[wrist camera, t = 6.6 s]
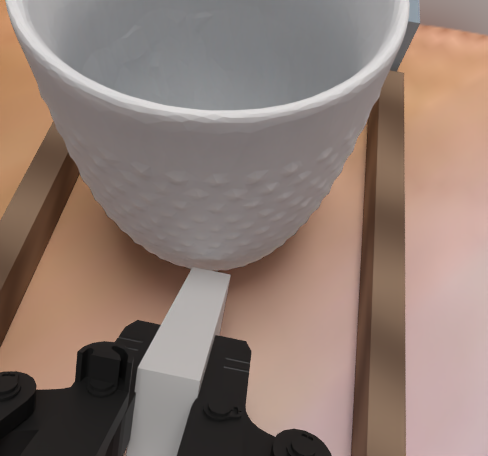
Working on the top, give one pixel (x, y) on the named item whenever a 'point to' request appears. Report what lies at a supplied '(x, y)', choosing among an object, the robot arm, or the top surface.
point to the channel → (371, 276)
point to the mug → (210, 110)
